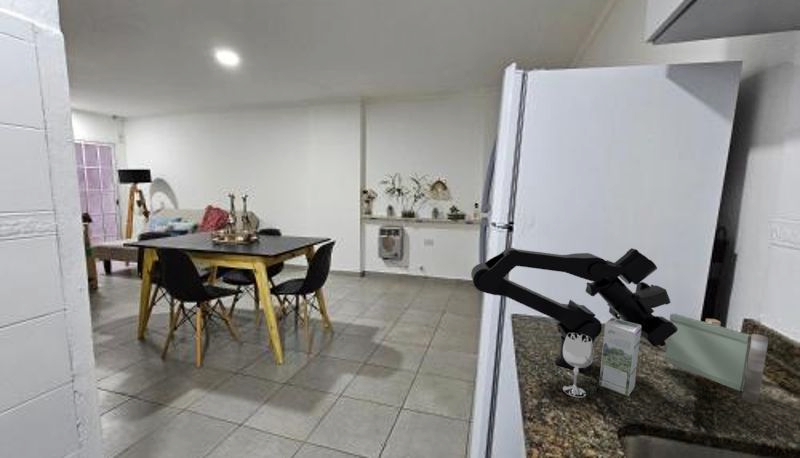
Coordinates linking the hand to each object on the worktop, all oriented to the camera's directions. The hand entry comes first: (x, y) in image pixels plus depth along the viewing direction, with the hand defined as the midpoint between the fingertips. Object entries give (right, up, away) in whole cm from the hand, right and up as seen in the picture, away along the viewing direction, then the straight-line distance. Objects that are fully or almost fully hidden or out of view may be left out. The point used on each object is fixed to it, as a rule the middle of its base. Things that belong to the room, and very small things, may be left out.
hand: (663, 344), depth 83 cm
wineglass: (-26, -7, -9) cm, 28 cm away
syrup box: (-15, -7, -7) cm, 18 cm away
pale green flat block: (+6, -6, -3) cm, 9 cm away
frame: (+12, -7, -3) cm, 15 cm away
